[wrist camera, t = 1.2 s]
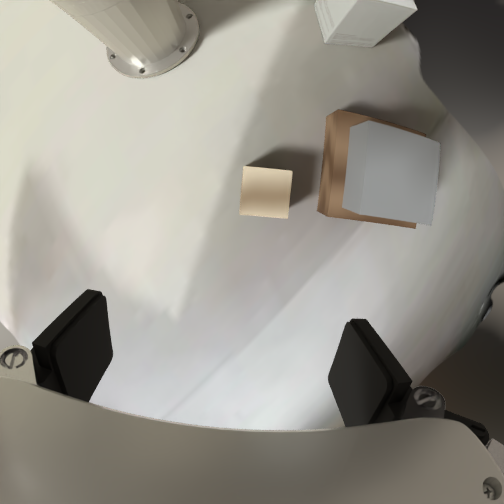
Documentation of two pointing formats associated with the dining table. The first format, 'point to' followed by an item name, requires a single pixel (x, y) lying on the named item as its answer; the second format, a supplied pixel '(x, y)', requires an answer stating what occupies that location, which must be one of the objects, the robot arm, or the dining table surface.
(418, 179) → the top block
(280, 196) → the ash cube
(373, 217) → the base block
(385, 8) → the supplement box
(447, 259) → the dining table surface
